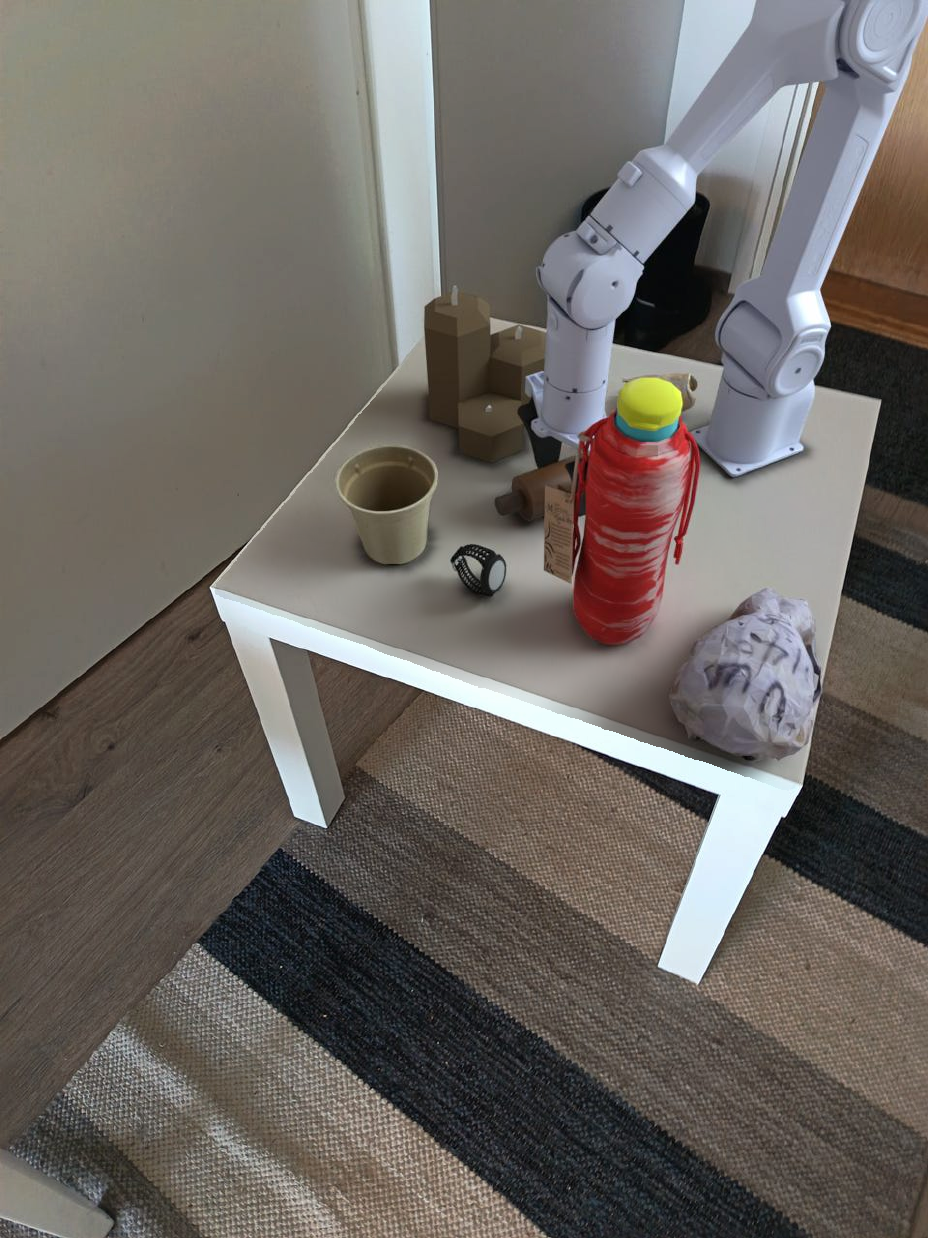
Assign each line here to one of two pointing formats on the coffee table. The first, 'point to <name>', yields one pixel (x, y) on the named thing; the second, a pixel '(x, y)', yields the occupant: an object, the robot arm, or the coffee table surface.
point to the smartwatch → (490, 572)
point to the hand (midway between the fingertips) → (565, 488)
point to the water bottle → (624, 511)
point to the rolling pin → (534, 490)
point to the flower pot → (389, 499)
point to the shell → (678, 386)
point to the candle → (479, 374)
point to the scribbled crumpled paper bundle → (753, 680)
